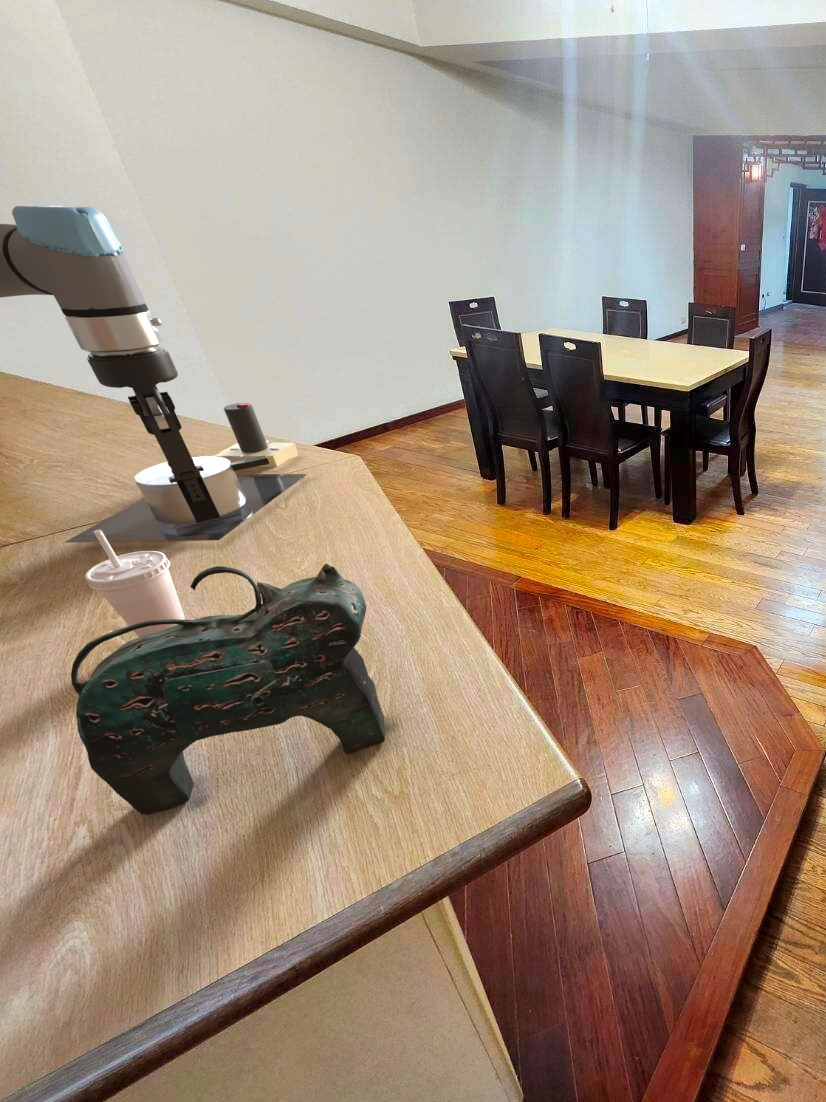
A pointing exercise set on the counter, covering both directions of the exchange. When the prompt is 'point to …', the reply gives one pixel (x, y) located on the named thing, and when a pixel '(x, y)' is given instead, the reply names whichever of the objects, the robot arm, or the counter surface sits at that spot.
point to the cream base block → (262, 453)
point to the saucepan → (217, 479)
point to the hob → (144, 527)
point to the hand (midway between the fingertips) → (208, 518)
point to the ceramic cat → (226, 684)
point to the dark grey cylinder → (245, 427)
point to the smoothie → (137, 587)
